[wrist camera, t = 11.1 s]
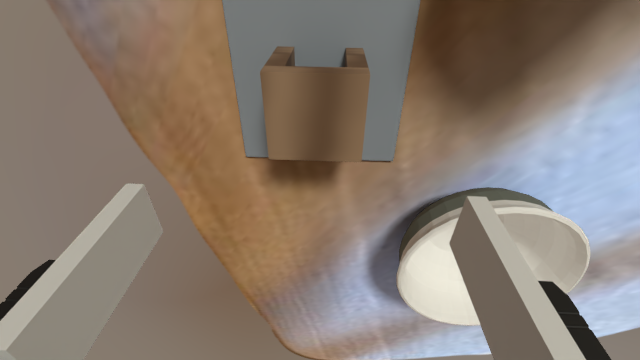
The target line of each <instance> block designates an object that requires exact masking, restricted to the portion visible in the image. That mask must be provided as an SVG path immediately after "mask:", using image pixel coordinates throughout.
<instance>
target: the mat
mask: <svg viewBox="0 0 640 360" xmlns="http://www.w3.org/2000/svg"><path fill="white" fill-rule="evenodd" d="M222 2H223V8H224V15H225V21H226V28H227V34H228V41H229V47H230V54H231V61H232V67H233V74H234V80H235V87H236V93H237V100H238V107H239V113H240V120H241V126H242V133H243V139H244V146H245V153H246V157H269V155H268V146H267V136H266V126H265V117H264V107H263V97H262V88H261V78H260V71H261V69H262V68H263V67H264V65H265V64H266V62H267V61H268V59H269V58H270V56H271V55H272V53H273V52H274V50H275V49H276V48H277V46H284V47H294V52H295V66H305V67H345V52H346V48H363V50H364V53H365V57H366V60H367V64H368V68H369V71H370V83H369V93H368V103H367V113H366V123H365V133H364V142H363V152H362V160H374V161H393V158H394V152H395V146H396V141H397V135H398V129H399V123H400V117H401V111H402V105H403V99H404V94H405V88H406V82H407V76H408V70H409V64H410V58H411V53H412V47H413V41H414V35H415V29H416V23H417V17H418V11H419V6H420V0H222Z"/></svg>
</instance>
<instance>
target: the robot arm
mask: <svg viewBox="0 0 640 360" xmlns="http://www.w3.org/2000/svg"><path fill="white" fill-rule="evenodd" d="M162 233H163V229H162V227H161V224H160V222H159V219H158V217H157V214H156V212H155V209H154V207H153V204H152V202H151V200H150V197H149V195H148V192H147V189H146V187H145V185H144V184H125V185H124V186H123V188H122V189H121V190H120V191H119V192H118V193H117V194H116V195H115V196H114V197H113V199H112V200H111V201H110V202H109V203H108V204H107V205H106V206H105V207H104V208H103V209H102V210H101V212H100V213H99V214H98V215H97V216H96V217H95V218H94V219H93V220H92V221H91V223H90V224H89V225H88V226H87V227H86V228H85V229H84V230H83V231H82V233H80V235H79V236H78V237H77V238H76V239H75V240H74V241H73V242H72V243H71V244H70V246H69V247H68V248H67V249H66V250H65V251H64V252H63V253H62V254H61V255H60V256H59V257H58V259H57V260H48V261H47V262H45V263H44V264H42V265H41V266H39V267H38V268H37V269H35V270H33V271H32V272H31V273H30V274H29V275H28V276H27V277H26V278H25V279H24V280H23V281H22V282H21V283H20V284H19V285H18V286H17V289H16V290H13V292H12V293H11V294H10V295H9V296H8V297H7V298H6V301H5V302H2V303H1V304H0V360H84V358H85V357H86V355H87V354H88V352H89V350H90V349H91V347H92V345H93V344H94V342H95V341H96V339H97V337H98V336H99V334H100V333H101V331H102V329H103V328H104V326H105V325H106V323H107V321H108V320H109V318H110V317H111V315H112V313H113V312H114V310H115V308H116V307H117V305H118V304H119V302H120V301H121V299H122V297H123V296H124V294H125V293H126V291H127V289H128V288H129V286H130V285H131V283H132V281H133V280H134V278H135V277H136V275H137V273H138V272H139V270H140V269H141V267H142V265H143V264H144V262H145V260H146V259H147V257H148V256H149V254H150V252H151V251H152V249H153V248H154V246H155V244H156V243H157V241H158V240H159V238H160V236H161V235H162ZM449 244H450V247H451V250H452V252H453V255H454V257H455V260H456V262H457V265H458V268H459V270H460V273H461V275H462V278H463V281H464V283H465V286H466V288H467V291H468V294H469V296H470V299H471V301H472V304H473V307H474V309H475V312H476V314H477V317H478V320H479V322H480V325H481V327H482V330H483V332H484V335H485V338H486V340H487V343H488V345H489V348H490V351H491V353H492V356H493V358H494V360H611V359H610V357H609V356H608V354H607V353H606V351H605V350H604V348H603V347H602V345H601V344H600V342H599V341H598V339H597V338H596V336H595V335H594V333H593V332H592V330H590V329H589V328H588V324H587V323H586V321H585V320H584V318H583V317H582V316H580V315H579V311H578V310H577V308H576V307H575V305H574V304H573V302H572V301H571V299H570V298H569V296H568V295H567V294H566V293H565V292H563V291H562V290H561V289H560V288H559V287H558V286H557V285H556V284H555V283H553V282H552V281H538V280H537V279H536V277H535V276H534V274H533V272H532V271H531V269H530V267H529V266H528V264H527V262H526V261H525V259H524V258H523V256H522V254H521V253H520V251H519V249H518V248H517V246H516V244H515V243H514V241H513V240H512V238H511V236H510V235H509V233H508V231H507V230H506V228H505V227H504V225H503V223H502V222H501V220H500V218H499V217H498V215H497V213H496V212H495V210H494V209H493V207H492V205H491V204H490V202H489V200H488V199H487V197H478V196H467V197H466V200H465V202H464V205H463V208H462V211H461V213H460V216H459V219H458V221H457V224H456V227H455V229H454V232H453V235H452V237H451V240H450V243H449Z"/></svg>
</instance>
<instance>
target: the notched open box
mask: <svg viewBox="0 0 640 360" xmlns="http://www.w3.org/2000/svg"><path fill="white" fill-rule="evenodd" d="M260 78H261V88H262V97H263V107H264V117H265V126H266V136H267V146H268V155H269V159H274V160H306V161H338V162H362V152H363V142H364V133H365V123H366V113H367V103H368V93H369V83H370V71H369V68H368V64H367V60H366V57H365V53H364V50H363V48H346V52H345V67H305V66H295V52H294V47H284V46H277V48H276V49H275V50H274V52H273V53H272V55H271V56H270V58H269V59H268V61H267V62H266V64H265V65H264V67H263V68H262V69H261V71H260Z"/></svg>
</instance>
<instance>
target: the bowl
mask: <svg viewBox="0 0 640 360" xmlns="http://www.w3.org/2000/svg"><path fill="white" fill-rule="evenodd" d="M467 196H478V197H487V199H488V200H489V202H490V204H491V205H492V207H493V209H494V210H495V212H496V213H497V215H498V217H499V218H500V220H501V222H502V223H503V225H504V227H505V228H506V230H507V231H508V233H509V235H510V236H511V238H512V240H513V241H514V243H515V244H516V246H517V248H518V249H519V251H520V253H521V254H522V256H523V258H524V259H525V261H526V262H527V264H528V266H529V267H530V269H531V271H532V272H533V274H534V276H535V277H536V279H537V280H538V281H552V282H553V283H555V284H556V285H557V286H558V287H559V288H560V289H561V290H562V291H563V292H565V293H566V294H567V293H568V292H570V291H571V290H572V289H573V288H574V287H575V286H576V284H577V283H578V282H579V281H580V280H581V279H582V277H583V275H584V273H585V272H586V270H587V268H588V265H589V260H590V247H589V241H588V239H587V237H586V235H585V234H584V232H583V230H582V229H581V228H580V227H579V226H577V225H576V224H575V223H574V222H573V221H572V220H570V219H568V218H566V217H564V216H561V215H559V214H557V213H555V212H554V211H553V210H551V209H550V208H549V207H548V206H547V205H545V204H544V203H543V202H542V201H540V200H538V199H536V198H534V197H532V196H530V195H526V194H523V193H519V192H515V191H511V190H507V189H503V188H477V189H470V190H466V191H461V192H457V193H455V194H452V195H449V196H447V197H444V198H442V199H440V200H438V201H437V202H435V203H433V204H431V205H430V206H428V207H427V208H426V209H425V210H423V211H422V212H421V213H420V214H419V215H418V216H417V217H416V218H415V219H414V220H413V221H412V223H411V225H410V226H409V228H408V230H407V231H406V233H405V235H404V237H403V239H402V242H401V246H400V249H399V261H400V265H399V268H398V271H397V275H396V276H397V288H398V291H399V294H400V296H401V297H402V298H403V300H404V301H405V302H406V304H407V305H408V306H409V307H411V308H412V309H413V310H414V311H416V312H417V313H419V314H421V315H423V316H425V317H427V318H429V319H432V320H435V321H438V322H443V323H448V324H453V325H467V326H471V325H480V322H479V320H478V317H477V314H476V312H475V309H474V307H473V304H472V301H471V299H470V296H469V294H468V291H467V288H466V286H465V283H464V281H463V278H462V275H461V273H460V270H459V268H458V265H457V262H456V260H455V257H454V255H453V252H452V250H451V247H450V244H449V243H450V240H451V237H452V235H453V232H454V229H455V227H456V224H457V221H458V219H459V216H460V213H461V211H462V208H463V205H464V202H465V200H466V197H467Z"/></svg>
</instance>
